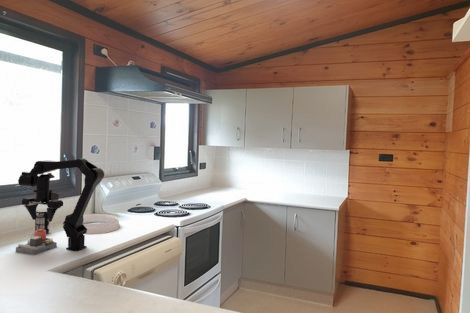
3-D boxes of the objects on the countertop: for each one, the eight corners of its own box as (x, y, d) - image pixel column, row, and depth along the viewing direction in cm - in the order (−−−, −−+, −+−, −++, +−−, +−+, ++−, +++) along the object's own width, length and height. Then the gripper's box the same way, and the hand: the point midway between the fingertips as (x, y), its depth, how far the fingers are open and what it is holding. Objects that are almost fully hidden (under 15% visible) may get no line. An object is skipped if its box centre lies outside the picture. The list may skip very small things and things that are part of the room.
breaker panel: (56, 246, 169) (57, 239, 169) (33, 254, 156) (33, 246, 156) (39, 243, 172) (39, 236, 172) (15, 251, 159) (15, 244, 159)
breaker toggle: (41, 246, 162) (41, 236, 162) (35, 248, 158) (35, 238, 158) (36, 245, 163) (36, 235, 162) (29, 247, 159) (29, 237, 159)
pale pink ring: (59, 233, 192) (59, 223, 192) (79, 221, 219) (79, 212, 219) (110, 235, 193) (110, 225, 193) (124, 223, 220) (124, 214, 220)
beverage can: (45, 230, 195) (46, 208, 195) (51, 233, 191) (51, 210, 191) (32, 232, 190) (33, 210, 190) (38, 235, 186) (38, 212, 186)
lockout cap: (48, 242, 169) (48, 229, 168) (40, 244, 164) (40, 231, 164) (40, 241, 170) (40, 228, 170) (32, 243, 166) (32, 230, 165)
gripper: (71, 187, 173) (71, 219, 174) (40, 184, 178) (39, 215, 179) (54, 189, 162) (53, 224, 163) (21, 186, 167) (20, 219, 168)
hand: (42, 220), depth 168 cm, fingers open, 9 cm apart
